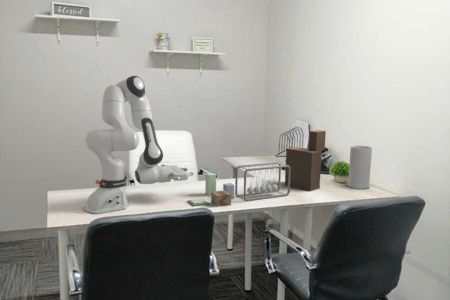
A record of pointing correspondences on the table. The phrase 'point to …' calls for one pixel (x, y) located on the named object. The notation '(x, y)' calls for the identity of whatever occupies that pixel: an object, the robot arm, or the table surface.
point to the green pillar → (210, 183)
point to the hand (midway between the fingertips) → (190, 171)
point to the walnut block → (221, 198)
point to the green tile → (197, 202)
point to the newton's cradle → (262, 188)
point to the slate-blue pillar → (229, 189)
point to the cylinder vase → (359, 167)
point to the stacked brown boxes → (306, 163)
